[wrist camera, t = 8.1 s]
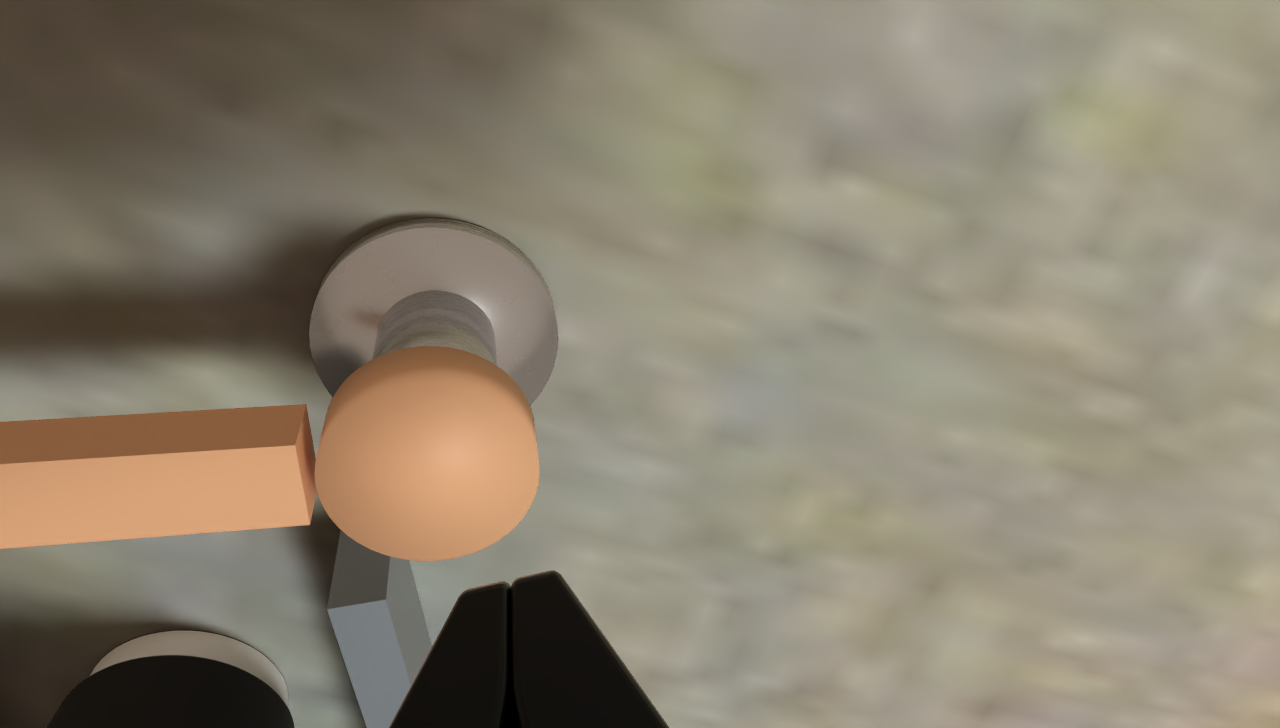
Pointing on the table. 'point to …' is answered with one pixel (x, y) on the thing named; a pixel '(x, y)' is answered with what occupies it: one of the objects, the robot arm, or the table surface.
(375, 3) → the table surface
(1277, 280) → the table surface
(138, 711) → the dixie cup
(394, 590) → the holder
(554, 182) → the table surface
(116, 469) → the lever
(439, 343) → the post
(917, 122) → the table surface
